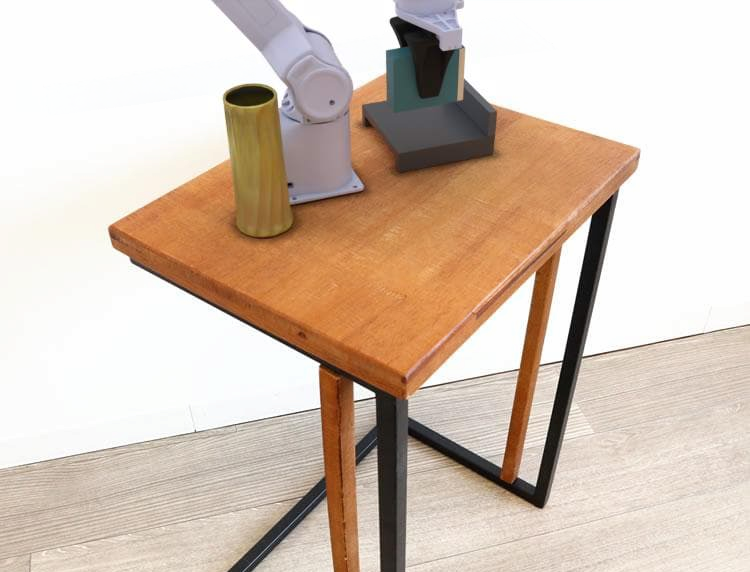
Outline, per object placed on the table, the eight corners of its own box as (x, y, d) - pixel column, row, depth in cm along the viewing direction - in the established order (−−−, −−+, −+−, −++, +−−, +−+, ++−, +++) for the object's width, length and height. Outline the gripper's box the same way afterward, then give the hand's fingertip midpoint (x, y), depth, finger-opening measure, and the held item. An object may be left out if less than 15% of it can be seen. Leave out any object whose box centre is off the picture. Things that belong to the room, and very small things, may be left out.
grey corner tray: (398, 173, 97) (399, 128, 93) (362, 123, 106) (361, 81, 102) (493, 154, 100) (497, 111, 96) (450, 107, 109) (452, 66, 105)
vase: (224, 228, 89) (204, 100, 79) (258, 201, 93) (242, 76, 83) (272, 244, 87) (257, 115, 77) (304, 215, 91) (294, 89, 81)
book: (463, 100, 93) (465, 47, 89) (394, 113, 91) (393, 59, 87) (453, 91, 95) (456, 37, 90) (386, 103, 93) (385, 49, 89)
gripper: (494, -25, 78) (485, 112, 88) (436, -69, 88) (433, 58, 98) (424, -14, 77) (422, 124, 86) (372, -60, 87) (375, 68, 96)
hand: (424, 90), depth 92 cm, fingers closed on book, 2 cm apart
